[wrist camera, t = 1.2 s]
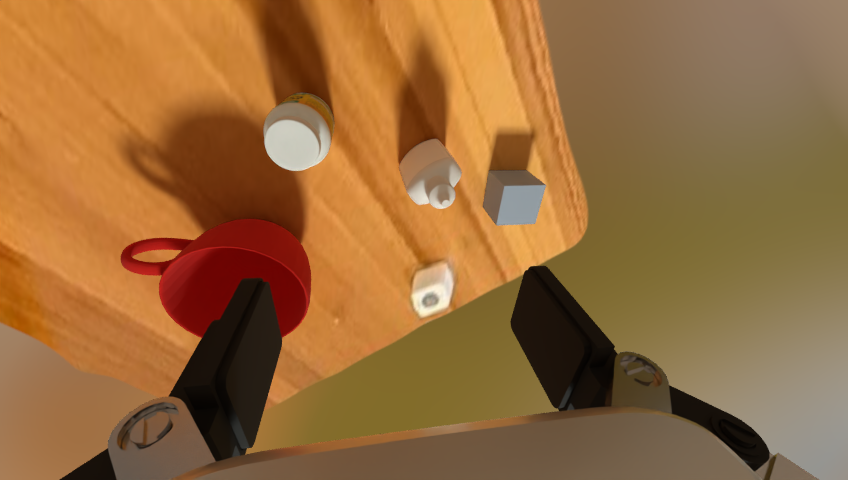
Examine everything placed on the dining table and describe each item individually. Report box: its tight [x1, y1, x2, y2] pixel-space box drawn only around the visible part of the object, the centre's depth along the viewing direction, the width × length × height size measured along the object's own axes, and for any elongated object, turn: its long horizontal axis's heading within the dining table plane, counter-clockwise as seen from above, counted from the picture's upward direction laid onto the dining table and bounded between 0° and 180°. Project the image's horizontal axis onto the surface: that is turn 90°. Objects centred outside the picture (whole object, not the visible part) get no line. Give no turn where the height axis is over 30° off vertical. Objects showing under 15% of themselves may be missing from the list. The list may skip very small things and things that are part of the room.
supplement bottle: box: [263, 93, 334, 171], centre depth 28 cm, size 5×5×10 cm
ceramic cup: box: [121, 219, 311, 338], centre depth 34 cm, size 13×17×10 cm
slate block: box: [483, 170, 546, 225], centre depth 38 cm, size 5×5×5 cm
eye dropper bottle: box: [399, 139, 462, 209], centre depth 31 cm, size 4×6×12 cm
